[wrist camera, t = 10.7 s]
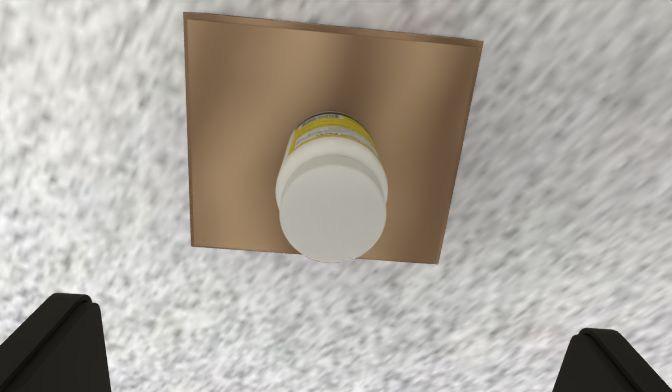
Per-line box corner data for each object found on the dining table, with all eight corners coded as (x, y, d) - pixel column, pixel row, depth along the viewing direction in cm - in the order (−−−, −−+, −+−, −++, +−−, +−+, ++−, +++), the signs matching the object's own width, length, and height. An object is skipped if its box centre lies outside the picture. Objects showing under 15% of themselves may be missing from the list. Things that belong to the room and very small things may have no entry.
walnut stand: (463, 38, 26) (486, 41, 22) (426, 237, 31) (439, 267, 27) (202, 12, 25) (180, 11, 21) (206, 220, 30) (189, 249, 26)
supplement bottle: (341, 209, 25) (347, 294, 18) (270, 164, 24) (242, 234, 16) (392, 141, 24) (423, 201, 16) (318, 91, 23) (314, 128, 15)
